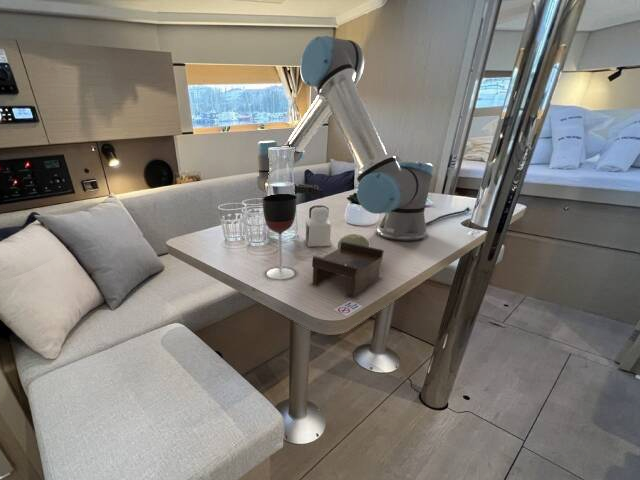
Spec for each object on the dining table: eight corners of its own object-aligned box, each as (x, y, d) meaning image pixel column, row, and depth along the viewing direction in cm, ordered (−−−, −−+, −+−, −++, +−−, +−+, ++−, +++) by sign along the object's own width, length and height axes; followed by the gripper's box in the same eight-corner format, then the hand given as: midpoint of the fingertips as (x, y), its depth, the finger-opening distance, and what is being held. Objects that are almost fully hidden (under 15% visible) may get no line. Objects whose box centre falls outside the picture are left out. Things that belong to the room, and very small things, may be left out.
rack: (340, 267, 87) (342, 241, 84) (379, 277, 80) (383, 250, 77) (311, 285, 79) (312, 257, 75) (352, 298, 72) (355, 268, 68)
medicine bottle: (305, 239, 109) (306, 204, 103) (326, 239, 108) (328, 203, 102) (307, 247, 103) (308, 209, 97) (329, 246, 102) (332, 208, 96)
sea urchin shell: (349, 253, 91) (341, 228, 93) (338, 264, 98) (331, 241, 100) (377, 248, 93) (368, 224, 95) (364, 259, 100) (356, 237, 102)
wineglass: (258, 274, 86) (255, 199, 76) (280, 264, 91) (279, 192, 81) (280, 282, 81) (279, 203, 71) (302, 272, 86) (303, 196, 76)
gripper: (305, 192, 130) (334, 203, 112) (248, 200, 122) (270, 212, 105) (305, 173, 126) (336, 180, 109) (247, 179, 119) (270, 188, 101)
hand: (304, 196), depth 107 cm, fingers open, 13 cm apart
